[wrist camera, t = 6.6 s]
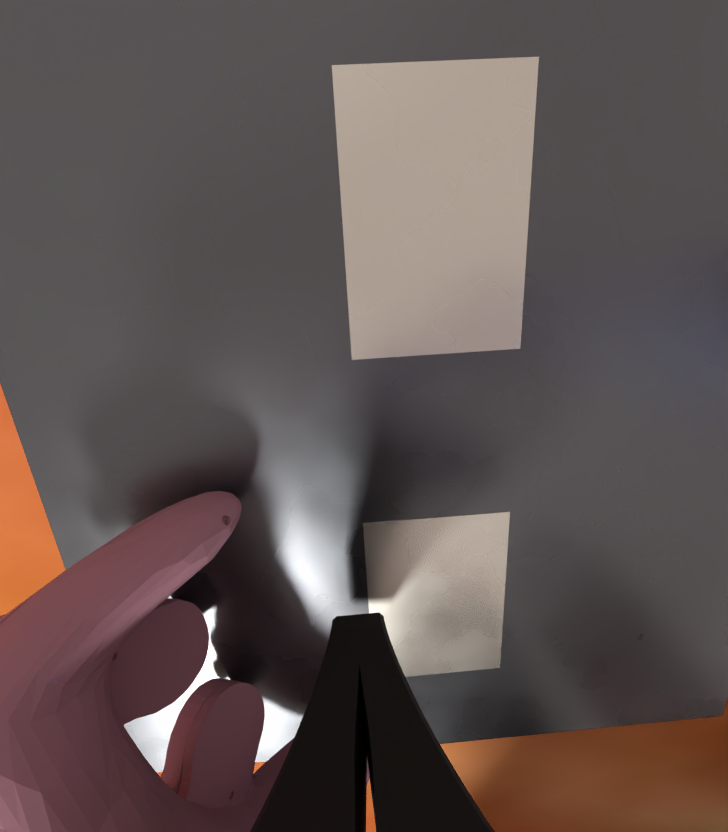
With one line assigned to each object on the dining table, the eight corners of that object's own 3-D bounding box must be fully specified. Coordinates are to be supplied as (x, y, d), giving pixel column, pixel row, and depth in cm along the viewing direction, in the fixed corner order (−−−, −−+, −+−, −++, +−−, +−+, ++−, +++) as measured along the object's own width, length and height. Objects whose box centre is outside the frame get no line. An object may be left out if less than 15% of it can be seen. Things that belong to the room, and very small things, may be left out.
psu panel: (983, -174, 7) (1002, -189, 7) (716, 709, 13) (722, 716, 13) (-175, -148, 6) (-193, -163, 6) (140, 767, 13) (137, 775, 12)
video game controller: (135, 489, 11) (-291, 783, 5) (241, 465, 9) (-297, 928, 3) (287, 706, 14) (115, 1050, 8) (396, 731, 12) (265, 1228, 6)
